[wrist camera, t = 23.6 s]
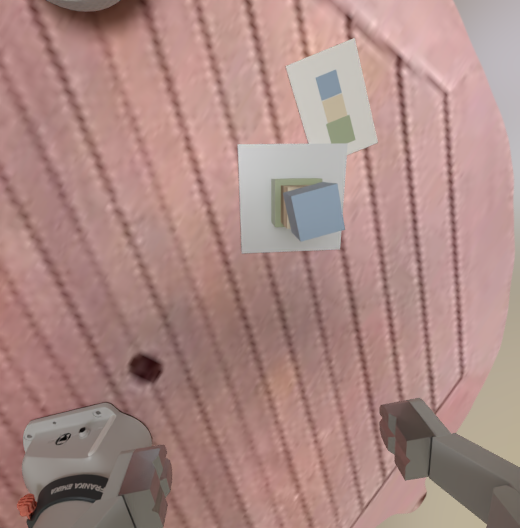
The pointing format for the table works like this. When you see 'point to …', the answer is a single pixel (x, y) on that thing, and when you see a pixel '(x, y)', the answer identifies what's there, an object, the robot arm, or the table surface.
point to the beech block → (283, 207)
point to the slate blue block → (314, 210)
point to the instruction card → (333, 98)
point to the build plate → (260, 191)
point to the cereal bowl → (84, 4)
